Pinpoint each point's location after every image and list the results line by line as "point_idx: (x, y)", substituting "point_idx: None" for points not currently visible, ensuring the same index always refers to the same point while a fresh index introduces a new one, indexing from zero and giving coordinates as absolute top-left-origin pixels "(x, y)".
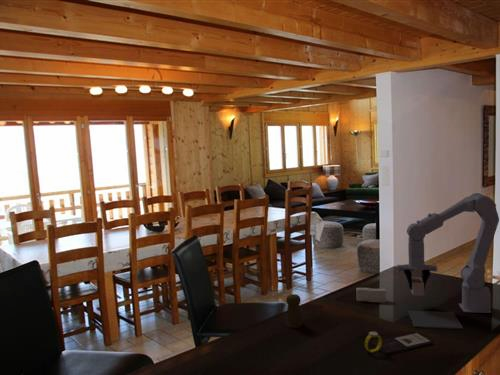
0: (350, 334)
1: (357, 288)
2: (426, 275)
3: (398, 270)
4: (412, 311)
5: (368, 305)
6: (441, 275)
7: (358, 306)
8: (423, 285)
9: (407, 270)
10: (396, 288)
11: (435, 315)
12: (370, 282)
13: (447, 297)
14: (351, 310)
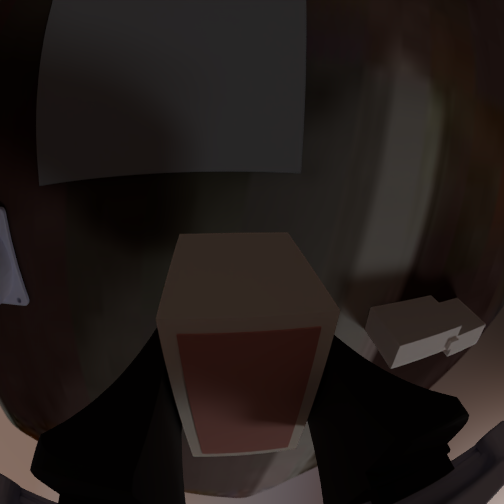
0: (495, 10)
1: (477, 337)
2: (90, 445)
3: (502, 430)
4: (275, 162)
5: (445, 256)
6: None
7: (473, 241)
8: (168, 293)
9: (422, 485)
10: None
11: (136, 106)
12: None
13: (83, 375)
14: (497, 199)
